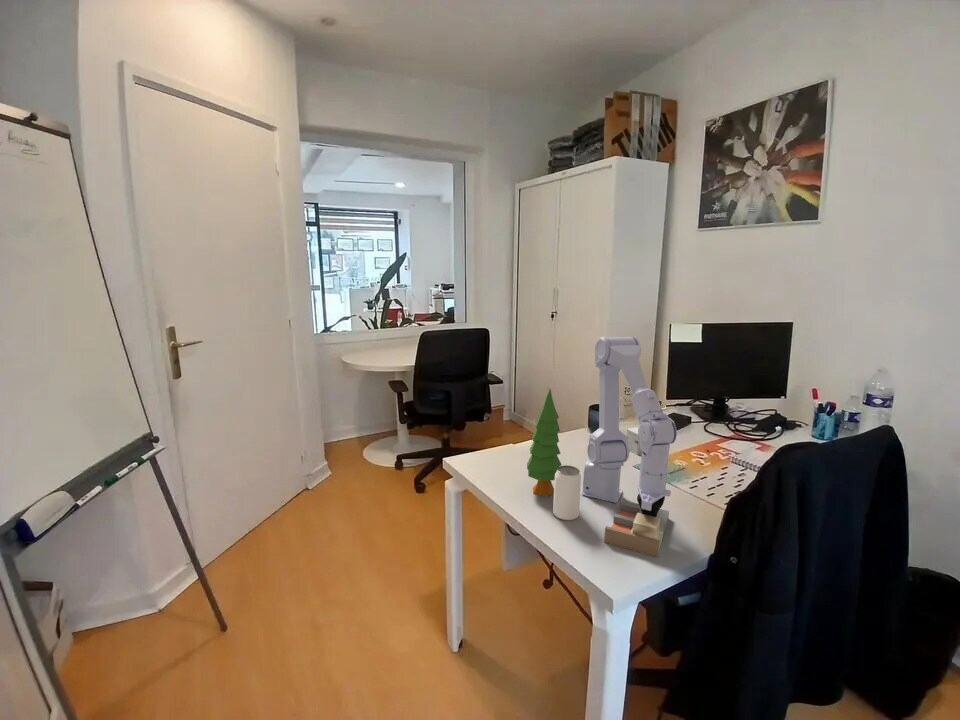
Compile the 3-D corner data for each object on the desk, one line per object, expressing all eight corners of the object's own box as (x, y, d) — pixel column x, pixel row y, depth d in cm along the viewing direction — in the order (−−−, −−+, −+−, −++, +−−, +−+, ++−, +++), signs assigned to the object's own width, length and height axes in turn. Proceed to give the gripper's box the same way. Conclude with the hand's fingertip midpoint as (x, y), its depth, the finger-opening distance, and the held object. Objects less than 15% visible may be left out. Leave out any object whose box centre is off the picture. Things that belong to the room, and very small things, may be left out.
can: (575, 508, 122) (578, 464, 120) (581, 521, 116) (584, 475, 113) (550, 508, 122) (552, 464, 119) (555, 521, 115) (557, 475, 113)
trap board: (604, 542, 107) (605, 528, 106) (621, 506, 123) (622, 494, 122) (657, 557, 102) (658, 542, 101) (668, 518, 118) (669, 505, 117)
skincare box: (624, 448, 163) (626, 428, 162) (638, 446, 166) (640, 426, 164) (636, 455, 158) (638, 434, 156) (651, 452, 160) (652, 432, 159)
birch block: (631, 539, 105) (633, 522, 104) (636, 528, 109) (637, 512, 108) (655, 545, 102) (657, 528, 102) (658, 534, 107) (660, 518, 106)
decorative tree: (550, 502, 125) (555, 393, 119) (518, 493, 129) (521, 387, 124) (563, 488, 133) (569, 385, 127) (533, 480, 138) (537, 380, 132)
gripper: (668, 486, 98) (662, 545, 101) (676, 462, 111) (670, 515, 113) (633, 479, 102) (628, 536, 104) (645, 456, 114) (640, 508, 117)
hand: (648, 525), depth 109 cm, fingers closed
